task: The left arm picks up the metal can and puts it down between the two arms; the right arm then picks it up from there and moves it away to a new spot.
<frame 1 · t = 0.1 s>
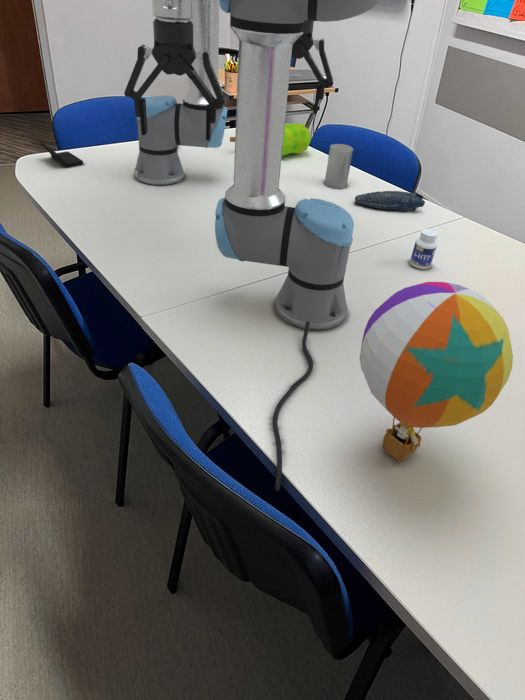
left hand: (176, 136, 111), 28 cm above the table, tool pointing down, fingers open, 13 cm apart
right hand: (289, 109, 135), 28 cm above the table, tool pointing down, fingers open, 13 cm apart
pill bottle: (419, 264, 133), on the table
can: (335, 184, 172), on the table
fish model: (387, 207, 161), on the table
black handled piece: (62, 162, 170), on the table
decorative tree: (270, 153, 192), on the table
toy: (397, 452, 83), on the table
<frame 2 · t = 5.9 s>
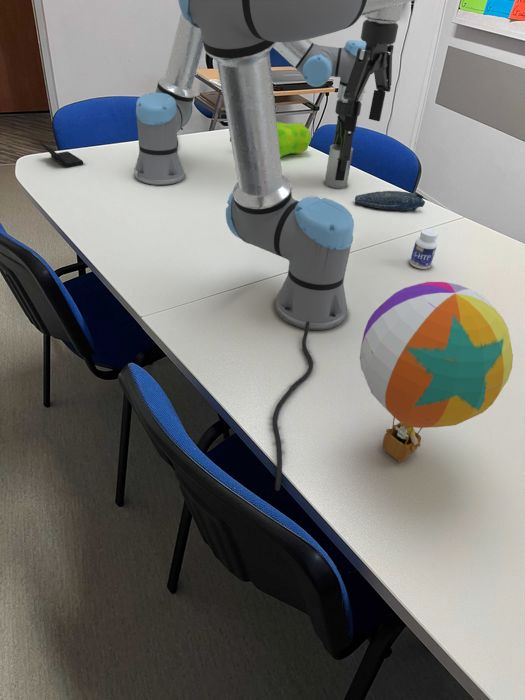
left hand: (337, 175, 171), 3 cm above the table, tool pointing down, fingers closed on can, 7 cm apart
right hand: (362, 125, 124), 29 cm above the table, tool pointing down, fingers open, 13 cm apart
can: (335, 184, 172), on the table, touching left hand
everything else where it was.
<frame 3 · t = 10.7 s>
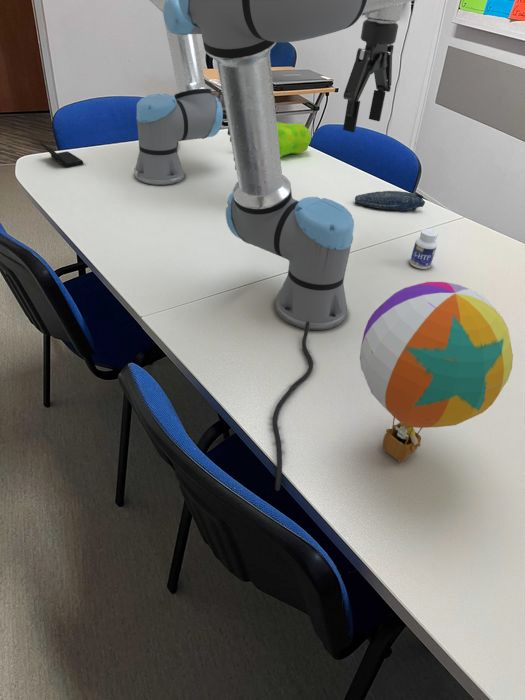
left hand: (248, 158, 145), 14 cm above the table, tool pointing down, fingers closed on can, 7 cm apart
right hand: (362, 125, 124), 29 cm above the table, tool pointing down, fingers open, 13 cm apart
can: (247, 169, 147), point 11 cm above the table, touching left hand
everything else where it was.
when the left hand's fingers open (5 cm above the table, at t = 15.8 s): can drops 2 cm, on the table.
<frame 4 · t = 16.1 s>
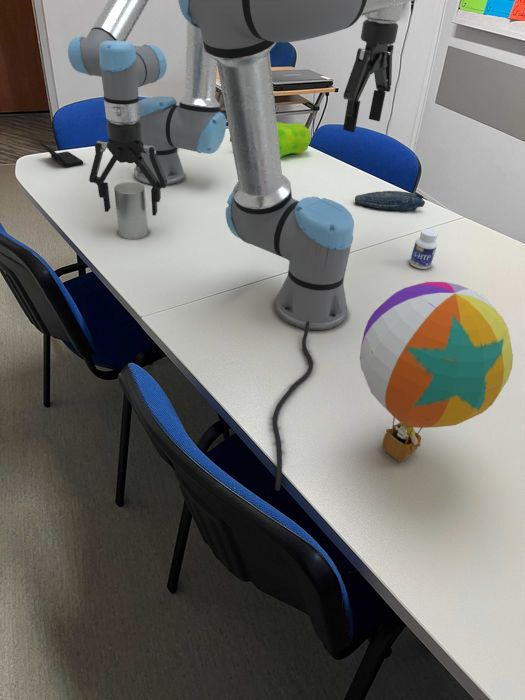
left hand: (131, 211, 131), 6 cm above the table, tool pointing down, fingers open, 11 cm apart
right hand: (362, 125, 124), 29 cm above the table, tool pointing down, fingers open, 13 cm apart
can: (133, 232, 135), on the table
everything else where it was.
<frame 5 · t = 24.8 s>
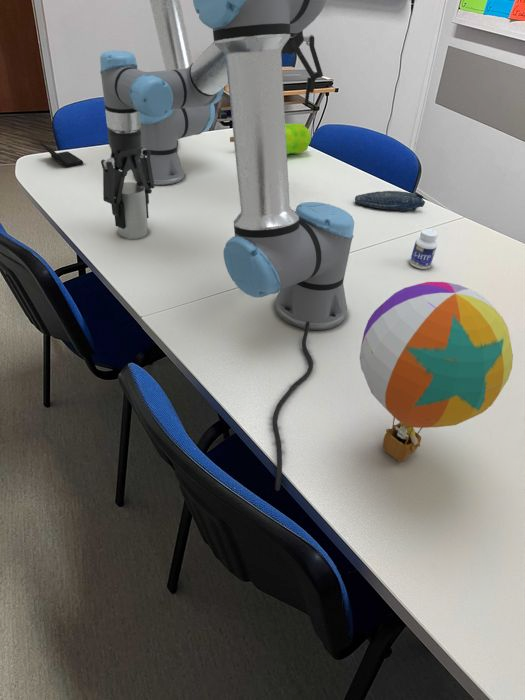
left hand: (281, 103, 141), 27 cm above the table, tool pointing down, fingers open, 13 cm apart
right hand: (132, 221, 133), 3 cm above the table, tool pointing down, fingers closed on can, 7 cm apart
can: (133, 232, 135), on the table, touching right hand
everything else where it was.
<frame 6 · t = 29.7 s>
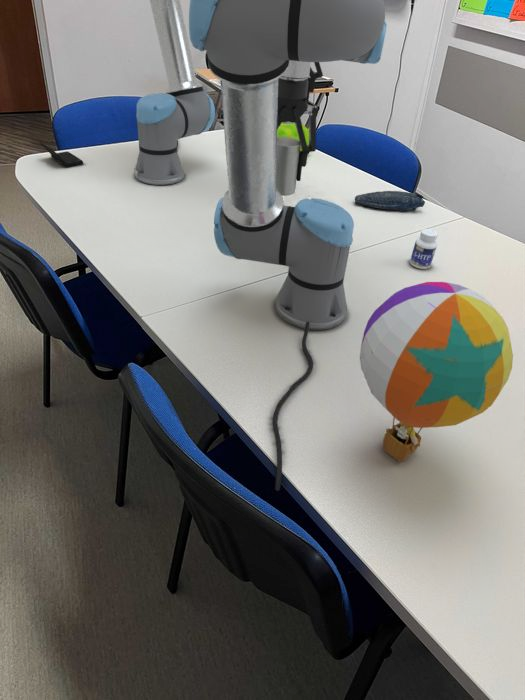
left hand: (281, 103, 141), 27 cm above the table, tool pointing down, fingers open, 13 cm apart
right hand: (281, 178, 130), 16 cm above the table, tool pointing down, fingers closed on can, 7 cm apart
can: (280, 190, 131), point 13 cm above the table, touching right hand
everything else where it was.
when the right hand's fingers open (5 cm above the table, at t = 35.0 s): can drops 2 cm, on the table.
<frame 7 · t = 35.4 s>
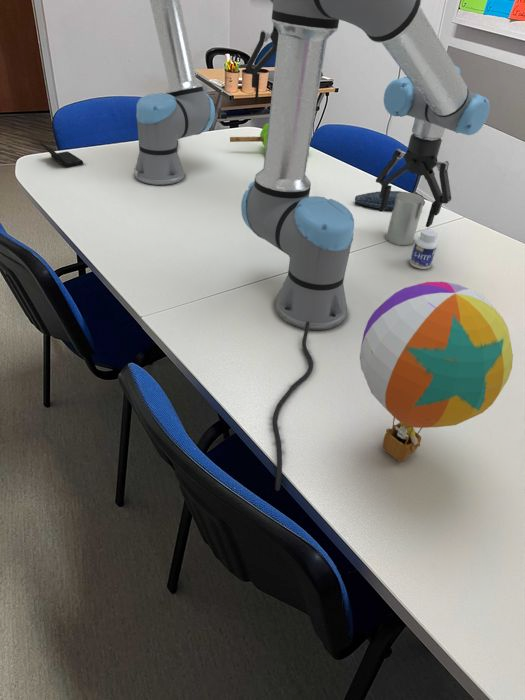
left hand: (281, 103, 141), 27 cm above the table, tool pointing down, fingers open, 13 cm apart
right hand: (405, 217, 140), 6 cm above the table, tool pointing down, fingers open, 13 cm apart
can: (399, 239, 144), on the table
everything else where it was.
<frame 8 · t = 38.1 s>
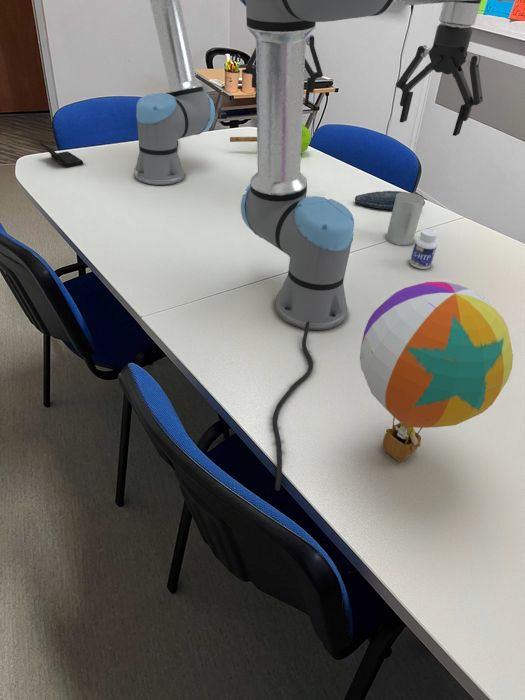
left hand: (281, 103, 141), 27 cm above the table, tool pointing down, fingers open, 13 cm apart
right hand: (428, 127, 125), 29 cm above the table, tool pointing down, fingers open, 13 cm apart
nothing on the table moved.
at the end: can inside the target area (0.1 cm from its centre), on the table; can tilted 0°; the two hands never held the can at the same time; the left hand is holding nothing; the right hand is holding nothing; can at rest at the end (0.0 cm/s) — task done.
